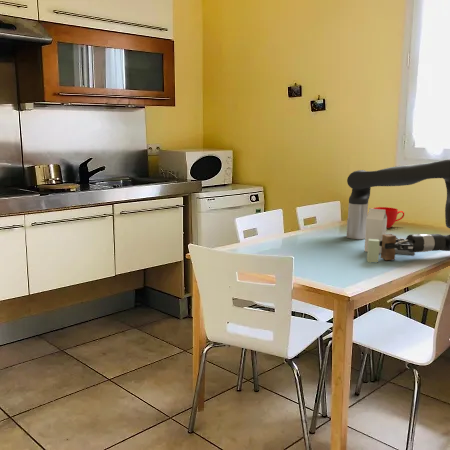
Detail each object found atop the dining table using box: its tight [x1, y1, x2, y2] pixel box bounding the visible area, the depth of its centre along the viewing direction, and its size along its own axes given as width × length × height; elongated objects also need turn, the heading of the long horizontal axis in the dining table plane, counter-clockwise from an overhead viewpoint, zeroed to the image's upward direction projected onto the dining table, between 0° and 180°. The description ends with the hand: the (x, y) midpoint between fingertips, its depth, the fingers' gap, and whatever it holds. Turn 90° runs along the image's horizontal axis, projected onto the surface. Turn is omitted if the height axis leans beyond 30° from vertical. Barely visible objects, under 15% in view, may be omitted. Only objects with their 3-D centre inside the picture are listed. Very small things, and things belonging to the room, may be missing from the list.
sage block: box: [366, 239, 380, 263], centre depth 214 cm, size 4×4×9 cm
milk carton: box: [364, 207, 387, 254], centre depth 229 cm, size 7×7×19 cm
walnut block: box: [380, 233, 397, 261], centre depth 215 cm, size 4×4×10 cm
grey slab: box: [395, 249, 416, 256], centre depth 231 cm, size 9×9×3 cm
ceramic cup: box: [372, 206, 405, 229], centre depth 284 cm, size 13×17×10 cm
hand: (382, 244), depth 215 cm, fingers closed on walnut block, 4 cm apart
